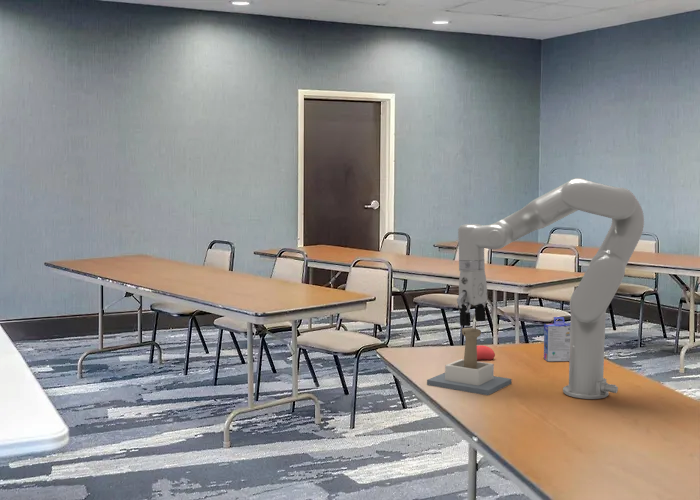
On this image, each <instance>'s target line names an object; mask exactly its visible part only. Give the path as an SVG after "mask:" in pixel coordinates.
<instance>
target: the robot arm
mask: <svg viewBox="0 0 700 500" xmlns="http://www.w3.org/2000/svg"><path fill="white" fill-rule="evenodd" d="M577 211H580V212H583V213H584V212H585V213H587V214H588V213H589V214H592V215H596V216H600V217H604V218H609V219H611V225H610V228H609V229H608V232H606V236H605V238H604V240H603V241H602V243H601V245H600V247H599V249H598V250H597V252H596V254H595V255H594V256H593V257H592V258H591V260H590V262H589V265H588V267H587V269H586V271H585V272H584V274H583V276H582V278H581V280H580V282H579V283H578V286H577V287H576V289H574V291H573V292H572V294H571V297H570V300H569V309H570V323H571V326H570V358H569V361H568V362H569V363H568V364H569V365H568V366H569V369H568V384H567V385H565V386H564V387H563V388H562V393H563V394H565V395H566V396H569V397H570V398H571V397H573V398H575V399H586V400H597V399H598V400H600V399H605V398H607V397H608V396H609V393H613V394H617V393H618V391H619V390H618V389H619V387H618V386H617V385H616V384H611V383H608V382H607V378H604V366H605V363H604V362H605V342H606V341H605V340H606V319H607V318H606V315H607V309H608V307H609V306H610V304H611V302H612V300H613V299H614V297H615V295H616V294H617V291H618V289H619V288H620V286H621V284H622V282H623V280H624V277H625V274H626V267H627V265H628V263H629V261H630V259H631V257H632V255H633V254H634V251H635V250H636V247H637V246H638V243H639V242H640V239H641V237H642V234H643V231H644V225H645V219H644V218H645V217H644V212H643V209H642V206H641V203H640V202H639V201H638V199H637V198H636V196H635V195H634V193H633V192H632V191H631V190H630V189H627V188H625V187H616V186H612V185H607V184H603V183H599V182H594V181H590V180H589V179H588V180H587V179H585V178H582V177H576V178H571V179H570V180H568V181H567V182H565V183H563V184H561V185H560V186H557V187H555V188H553V189H551V190H550V191H547V192H546V193H544V194H542V195H540V196H538V197H536V198H534V199H533V200H531V201H530V202H528V204H527V203H526V205H525V206H524V207H522V208H521V209H519V210H516V211H515V212H513V213H512V214H509V215H508V216H506V217H504V218H502V219H499V220H498V221H496V222H493V223H492V224H484V225H482V224H479V223H465V224H461V225H459V227H458V229H457V231H458V232H457V234H458V235H457V236H458V237H457V238H458V240H457V241H458V271H459V279H458V297H457V298H456V302H457V308H458V313H459V326H463V327H470V326H471V312H470V309H471V307H472V306H475V307H474V320H475V321H480V322H482V321H484V322H485V321H486V306H487V305H486V302H487V301H488V285H487V276H486V270H485V269H486V268H485V249H488V250H500V249H503V248H505V247H506V246H508V245H509V244H511V243H513V242H515V241H516V240H519V239H521V238H523V237H525V236H527V235H528V234H530V233H532V232H535V231H537V230H540V229H545V228H546V227H549V226H550V225H552V224H555V223H556V222H559V221H561V220H562V219H564V218H566V217H568V216H570V215H571V214H574V213H575V212H577Z"/></svg>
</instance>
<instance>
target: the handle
mask: <svg viewBox="0 0 700 500" xmlns="http://www.w3.org/2000/svg"><path fill="white" fill-rule="evenodd" d="M461 333H462V336H464V337H465V345H464V354H463V359H464V367H465V368H472V369H477V362H478V360H477V346H478V344H477V341H478V337H480V336H481V335H482V331H481V329H480V328H479V329H478V328H473V327H463V328H462V329H461Z"/></svg>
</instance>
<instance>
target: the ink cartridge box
mask: <svg viewBox="0 0 700 500" xmlns="http://www.w3.org/2000/svg"><path fill="white" fill-rule="evenodd" d="M570 326H571V322H569V323H567V322H565V317H564V316H553V323H543V359H544V360H545V361H546V362H569V358H570Z"/></svg>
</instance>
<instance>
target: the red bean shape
mask: <svg viewBox="0 0 700 500" xmlns="http://www.w3.org/2000/svg"><path fill="white" fill-rule="evenodd" d="M495 356H496V353H495V351H494V350H493V349H492V348H491V347H489V346H487V345H482V344H481V345H479V344H477V361H481V360H483V361H491V360H493V359H494V358H495Z"/></svg>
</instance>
